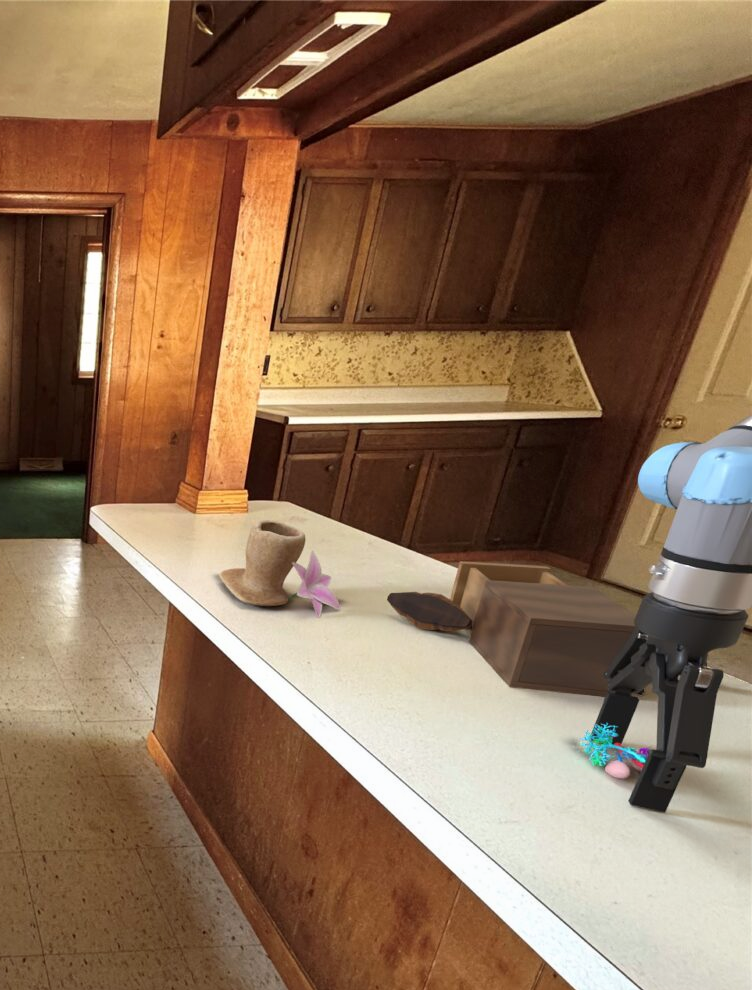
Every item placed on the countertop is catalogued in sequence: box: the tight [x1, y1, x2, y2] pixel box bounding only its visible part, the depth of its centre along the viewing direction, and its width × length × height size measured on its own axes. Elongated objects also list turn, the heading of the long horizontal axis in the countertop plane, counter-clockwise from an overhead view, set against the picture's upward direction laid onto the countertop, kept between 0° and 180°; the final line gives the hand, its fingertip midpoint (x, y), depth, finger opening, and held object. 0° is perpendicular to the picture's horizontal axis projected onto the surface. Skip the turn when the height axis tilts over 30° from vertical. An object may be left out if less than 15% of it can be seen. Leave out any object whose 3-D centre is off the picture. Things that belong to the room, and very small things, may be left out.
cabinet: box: [468, 580, 637, 698], centre depth 98 cm, size 16×14×11 cm
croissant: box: [386, 591, 473, 632], centre depth 113 cm, size 14×7×5 cm
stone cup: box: [218, 519, 306, 607], centre depth 127 cm, size 15×12×15 cm
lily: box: [288, 550, 342, 618], centre depth 123 cm, size 12×12×10 cm
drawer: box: [449, 560, 567, 627], centre depth 112 cm, size 20×13×9 cm, turn 162°
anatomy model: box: [579, 723, 651, 780], centre depth 75 cm, size 5×8×7 cm
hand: (624, 772), depth 76 cm, fingers open, 13 cm apart
